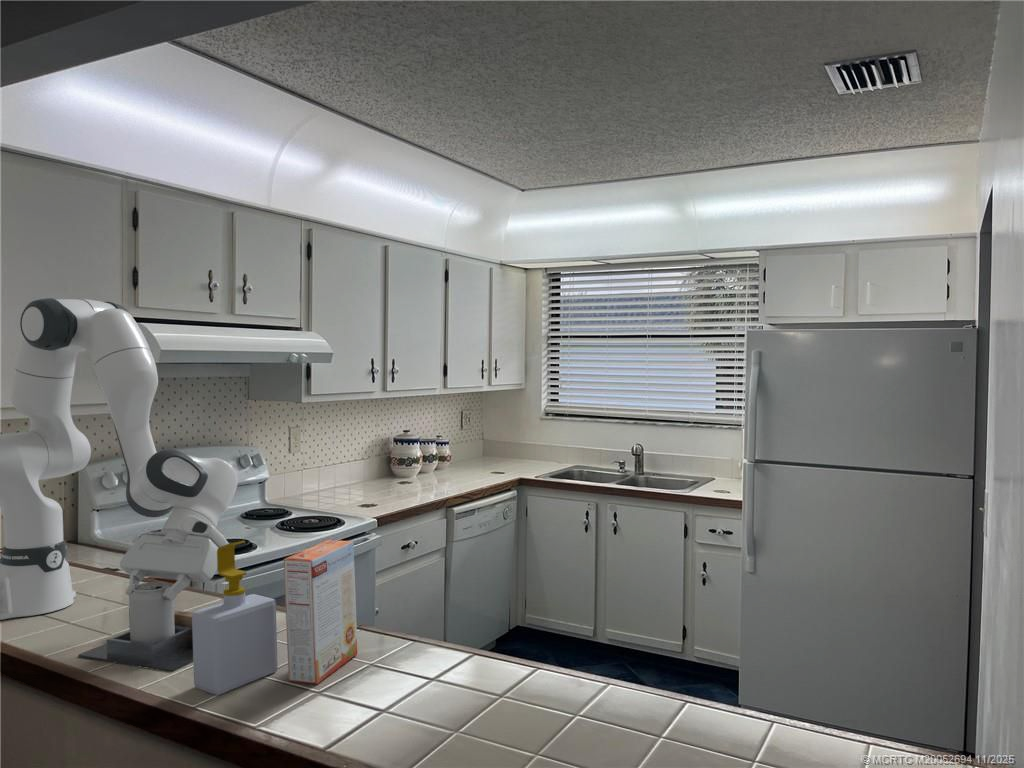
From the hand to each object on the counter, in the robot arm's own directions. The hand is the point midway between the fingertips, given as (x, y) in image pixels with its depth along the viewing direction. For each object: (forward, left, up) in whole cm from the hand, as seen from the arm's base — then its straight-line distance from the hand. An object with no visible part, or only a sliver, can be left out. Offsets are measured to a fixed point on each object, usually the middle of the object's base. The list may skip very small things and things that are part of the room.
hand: (148, 597), depth 145 cm
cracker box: (+35, +4, -11) cm, 37 cm away
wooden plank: (0, +8, -10) cm, 13 cm away
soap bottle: (+24, -5, -11) cm, 27 cm away
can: (0, +1, -10) cm, 10 cm away
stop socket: (0, +1, -10) cm, 10 cm away
